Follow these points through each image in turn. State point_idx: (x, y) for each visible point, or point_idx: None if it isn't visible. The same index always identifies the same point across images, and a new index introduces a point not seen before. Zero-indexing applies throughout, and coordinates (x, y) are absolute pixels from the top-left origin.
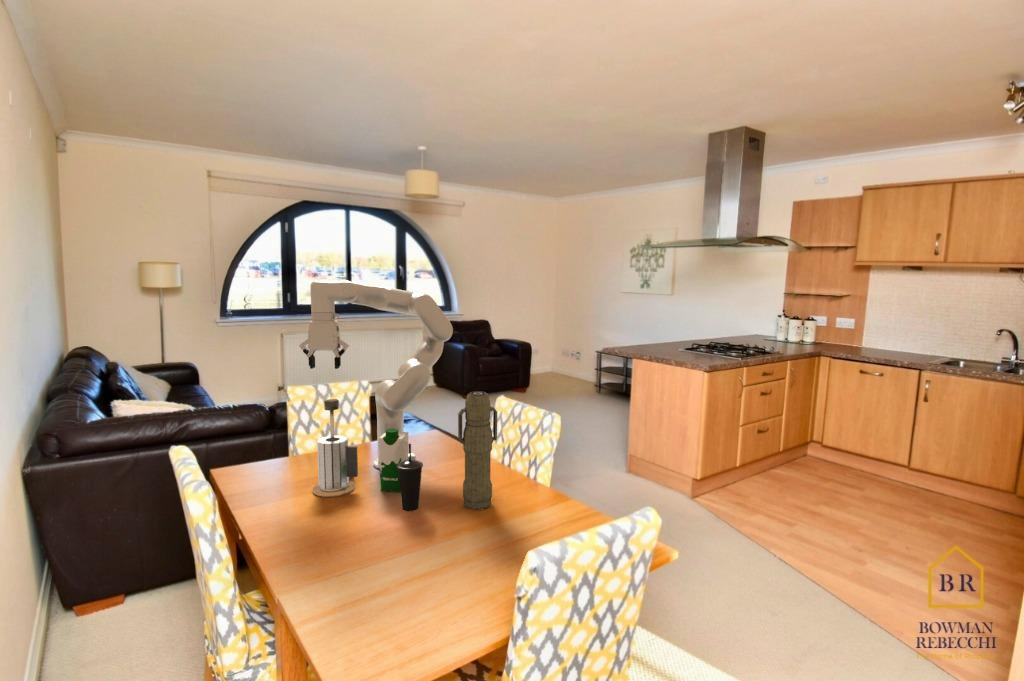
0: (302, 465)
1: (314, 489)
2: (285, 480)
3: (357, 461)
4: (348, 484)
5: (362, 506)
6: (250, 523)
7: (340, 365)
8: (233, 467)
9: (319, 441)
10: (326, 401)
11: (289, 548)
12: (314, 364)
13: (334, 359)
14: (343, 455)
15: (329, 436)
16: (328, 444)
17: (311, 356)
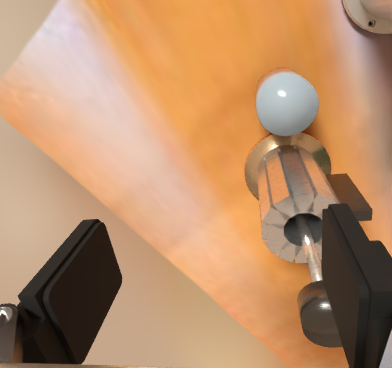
0: (144, 38)
1: (251, 187)
2: (162, 138)
3: (357, 189)
4: (314, 157)
5: (367, 233)
6: (210, 288)
7: (375, 243)
8: (4, 81)
9: (273, 247)
10: (315, 335)
11: (296, 337)
12: (97, 252)
13: (346, 356)
14: None
15: (283, 205)
16: (305, 262)
17: (56, 363)
